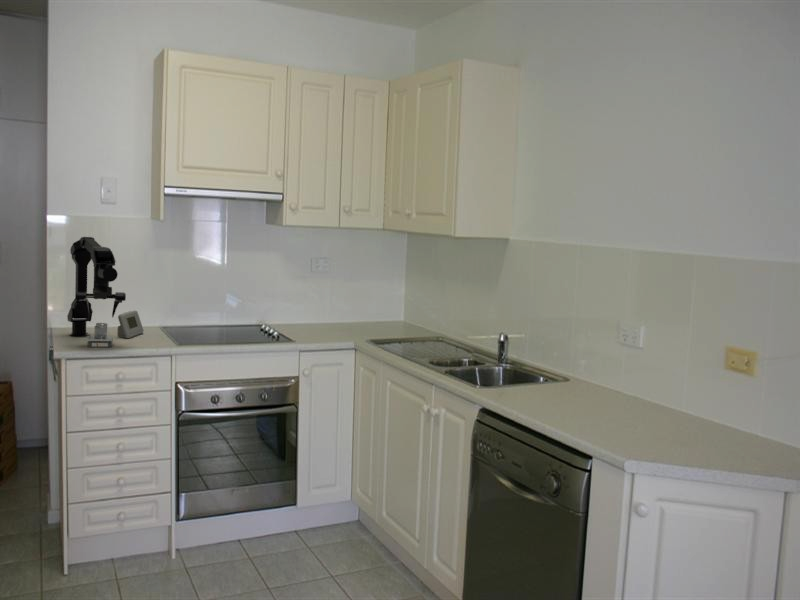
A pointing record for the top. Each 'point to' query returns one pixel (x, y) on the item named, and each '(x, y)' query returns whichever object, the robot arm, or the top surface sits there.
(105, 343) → the scale base
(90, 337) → the platform
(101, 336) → the cylinder
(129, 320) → the digital clock
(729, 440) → the top surface
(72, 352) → the top surface
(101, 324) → the cylinder
